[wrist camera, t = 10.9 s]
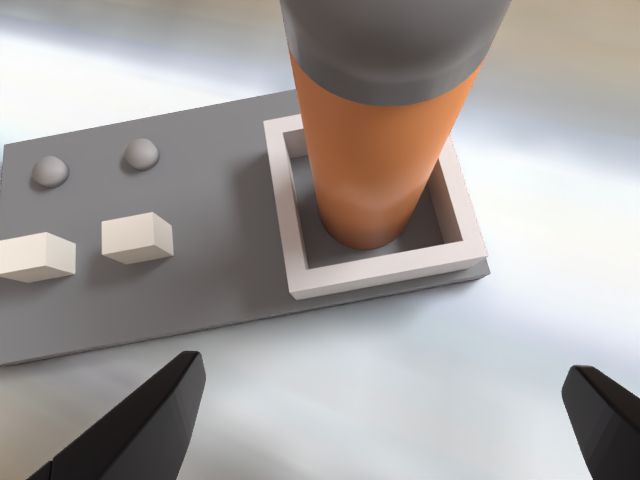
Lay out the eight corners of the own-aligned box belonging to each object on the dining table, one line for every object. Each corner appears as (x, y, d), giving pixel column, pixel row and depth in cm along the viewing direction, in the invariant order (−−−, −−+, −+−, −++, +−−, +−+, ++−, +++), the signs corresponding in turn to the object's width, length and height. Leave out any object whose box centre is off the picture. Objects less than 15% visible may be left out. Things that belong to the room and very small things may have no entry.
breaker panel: (8, 365, 19) (-68, 368, 16) (21, 155, 23) (-39, 118, 19) (481, 278, 19) (513, 261, 15) (421, 79, 22) (435, 27, 19)
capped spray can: (352, 267, 18) (367, 75, 6) (301, 194, 19) (222, -93, 7) (430, 216, 19) (599, -64, 6) (375, 148, 20) (424, -197, 8)
